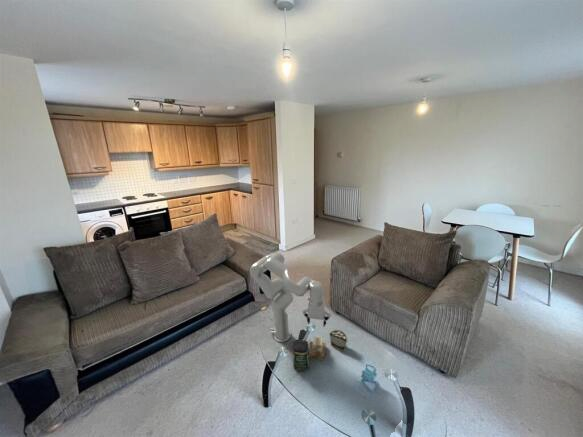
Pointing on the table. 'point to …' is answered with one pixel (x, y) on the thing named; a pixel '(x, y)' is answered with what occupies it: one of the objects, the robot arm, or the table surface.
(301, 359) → the coffee jar
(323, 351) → the pedestal
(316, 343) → the beech cube
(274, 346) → the table surface
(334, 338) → the food container
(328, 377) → the table surface
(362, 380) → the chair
